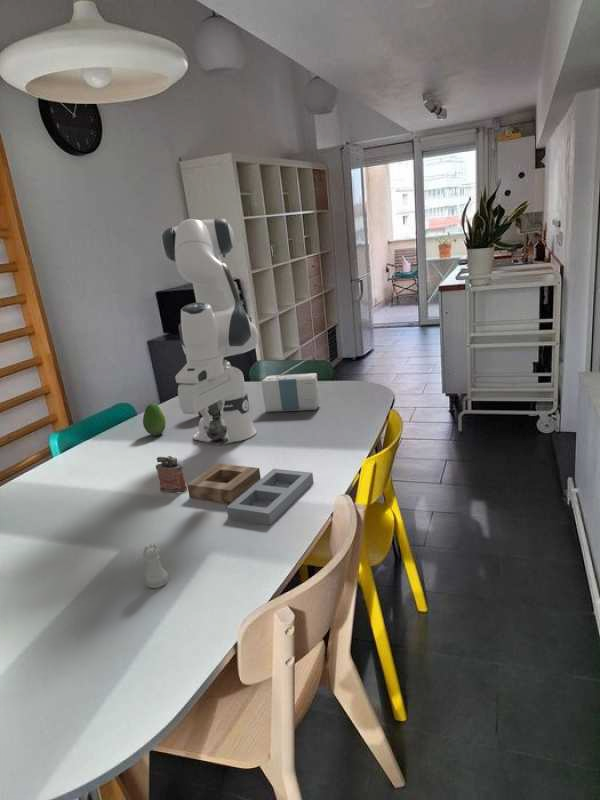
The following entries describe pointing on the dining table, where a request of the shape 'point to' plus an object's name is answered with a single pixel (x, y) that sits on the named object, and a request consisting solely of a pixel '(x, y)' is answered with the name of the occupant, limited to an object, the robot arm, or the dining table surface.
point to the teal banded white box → (291, 392)
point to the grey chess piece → (216, 427)
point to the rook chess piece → (154, 568)
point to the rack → (270, 496)
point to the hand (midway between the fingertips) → (214, 419)
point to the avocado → (154, 420)
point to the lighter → (170, 475)
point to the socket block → (223, 483)
